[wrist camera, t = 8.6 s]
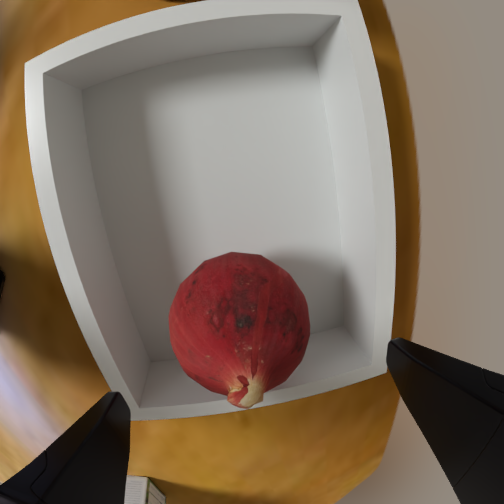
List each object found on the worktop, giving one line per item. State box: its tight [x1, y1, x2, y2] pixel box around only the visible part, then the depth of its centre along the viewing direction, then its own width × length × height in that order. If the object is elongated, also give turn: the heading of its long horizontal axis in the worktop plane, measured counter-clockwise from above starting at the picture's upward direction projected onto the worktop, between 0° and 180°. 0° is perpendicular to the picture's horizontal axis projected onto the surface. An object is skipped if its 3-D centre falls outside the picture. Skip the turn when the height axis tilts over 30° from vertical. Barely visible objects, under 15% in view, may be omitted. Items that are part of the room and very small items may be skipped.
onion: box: [168, 252, 310, 409], centre depth 12 cm, size 6×6×8 cm
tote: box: [25, 0, 396, 421], centre depth 13 cm, size 18×14×5 cm
